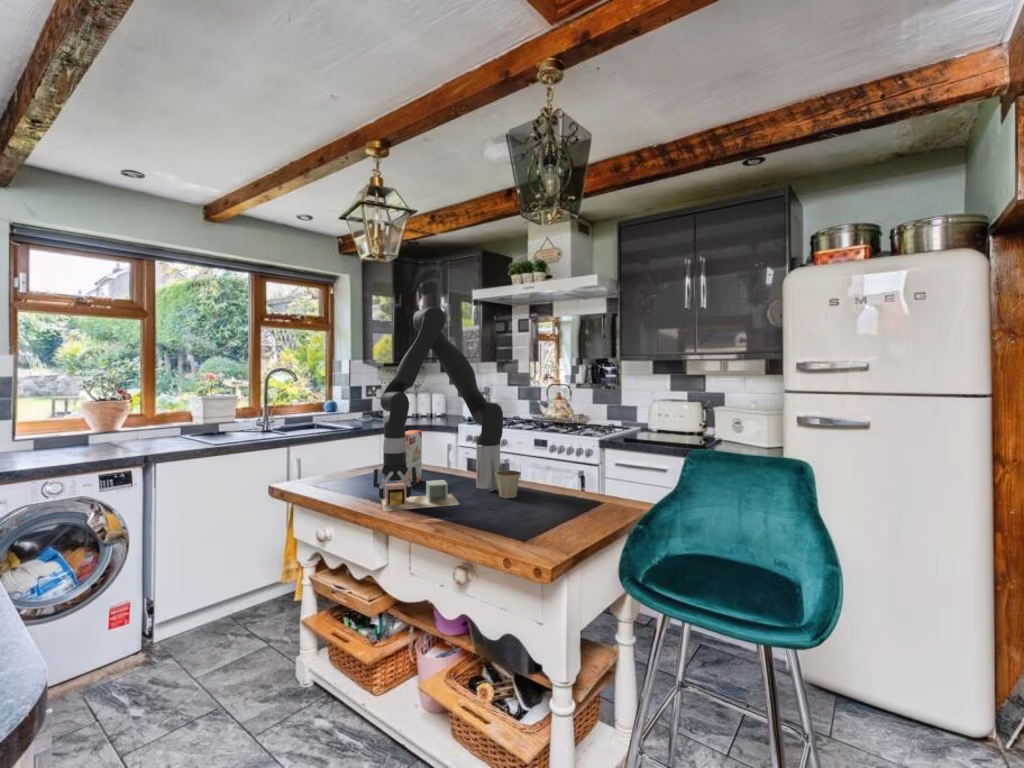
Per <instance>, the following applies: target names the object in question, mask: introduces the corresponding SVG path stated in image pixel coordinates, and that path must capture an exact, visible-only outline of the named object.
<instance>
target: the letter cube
mask: <svg viewBox="0 0 1024 768" xmlns="http://www.w3.org/2000/svg"><path fill="white" fill-rule="evenodd" d="M389 503H390V505H398V504H402V491H401V490H389Z"/></svg>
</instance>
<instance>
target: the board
mask: <svg viewBox="0 0 1024 768" xmlns="http://www.w3.org/2000/svg"><path fill="white" fill-rule="evenodd" d="M380 502H381V505H382V511H383V512H388V511H390V512H391V511H401V510H411V509H412V510H413V509H426V508H436V507H437V508H439V507H448V506H449V507H450V506H459V505H460V502H459V500H457V498H456V497H455V495H454V494H453V493H448V501H446V500H445V499H444V497H437V498H430V503H429V502H428V500H427V498H426V495H417V496H409V498H407V497H406V505H405V504H404V502H403V500H402V504H398V505H390V503H389V501H388V506H386V502H385V498H384V500H381V499H380Z"/></svg>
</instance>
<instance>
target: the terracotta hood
mask: <svg viewBox="0 0 1024 768" xmlns="http://www.w3.org/2000/svg"><path fill="white" fill-rule="evenodd" d="M389 490H401V491H402V500H403V502H404V504H405V505H406V486H405V484H404V483H397V482H393V483H386V484H385V485H384V499H385V502H386V506H388V501H389Z"/></svg>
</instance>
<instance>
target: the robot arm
mask: <svg viewBox="0 0 1024 768" xmlns="http://www.w3.org/2000/svg"><path fill="white" fill-rule="evenodd" d="M412 321H413V322H412V323H413V326H414V328H415V330H416V331H417V333H418V334H417V337H416V339H414V342H413V343H412V345H411V346H410V348H409V349H407V351H406V353H405V355H404V356H403V358H402V359H401V361H400V363H399V365H398V367H397V369H396V372H395V374H394V376H393V378H392V379H391V381H390V382H389V383H388V385H387V386H386V387H385V389H384V391H383V392H382V394H381V398H380V407H381V408H382V410H383V411H385V412H389V417H388V419H387V420H385V421H384V424H383V442H382V443H383V445H382V446H383V447H382V448H383V449H382V450H383V455H382V456H383V457H382V460H383V463H382V464H383V466H382V468H377V467H374V468H373V479H372V480H373V481H372V483H373V484H372V486H373V487H374V488H376V489H377V488H378V496H379V499H380V501H381V500H384V499H385V484H388V481H390V482H394V481H396V482H397V481H400V480H401V479H402V480H403V481H404V482H405V483H406V485H407V486H406V497H407V498H409V497H412V496H411V495H412V487H411V486H412V485H414V486H415V484H416V468H415V467H414V466H412V467H407V466H406V439H405V432H406V423H407V420H408V416H409V412H410V411H409V410H410V401H409V397H408V396H407V395H406V393H405V392H406V391H407V390H408V389H412V388H413V386H414V384H415V382H416V380H417V377H418V376H419V374H420V371H421V368H422V366H423V364H424V361H425V360H426V358H427V356H428V354H429V352H430V350H431V351H432V352H433V354H434V356H435V357H436V359H437V360H438V362H439V364H440V365H441V367H442V369H443V371H444V372H445V373H446V375H447V377H448V378H449V380H450V381H451V382H452V384H453V386H454V387H455V390H457V392H458V394H459V395H460V396H461V397H462V399H463V401H464V402H465V404H466V407H467V409H468V411H469V412H470V415H471V417H472V419H473V421H474V422H476V424H477V425H480V426H481V432H480V434H479V435H477V436H476V441H475V444H476V445H475V447H476V449H475V450H476V453H475V454H476V455H475V456H476V458H475V463H476V466H475V467H476V469H475V471H476V473H475V476H476V479H475V480H476V481H475V485H476V488H477V489H480V490H486V491H487V492H495V491H494V490H496V491H499V488H498V480H497V477H496V474H495V473H496V472H498V471H503V464H501V440H502V437H503V431H504V430H503V429H504V413H503V409H502V407H501V405H499V404H498V403H495V402H489V401H487V399H486V398H485V397H484V396H483V395H482V392H481V391H480V389H479V387H478V383H477V378H476V377H477V376H476V374H475V370H474V368H473V367H472V365H471V363H470V362H469V360H468V359H467V357H466V355H465V354H464V353H463V352H462V351H461V350H460V349H459V348H457V347H456V346H455V345H454V344H452V342H451V341H450V340H448V338H447V337H446V336H445V335H444V333H443V329H444V327H445V325H446V323H447V318H446V313H445V312H444V311H443V310H442V308H440V307H438V306H428V307H425V308H421V309H418V310H417V311H415V313H414V314H413V317H412ZM407 471H409V472H410V473H411V474H412V481H410V482H409V481H408V479H407V478H406V477H405V474H406V472H407ZM381 473H382V474H383V475H384V477H383V478H382V480H381V481H380V483H379V482H378V480H379V479H378V478H379V476H380V475H381ZM416 485H417V484H416Z"/></svg>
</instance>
